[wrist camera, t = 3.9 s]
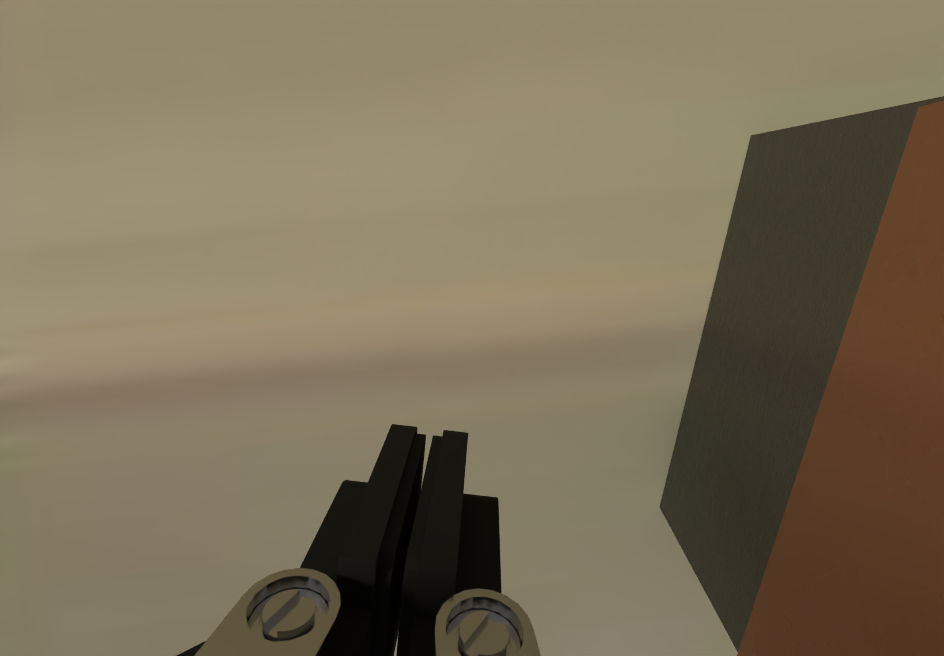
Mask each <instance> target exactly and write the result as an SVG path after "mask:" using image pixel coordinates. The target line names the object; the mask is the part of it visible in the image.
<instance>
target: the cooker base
mask: <svg viewBox="0 0 944 656" xmlns="http://www.w3.org/2000/svg"><path fill="white" fill-rule="evenodd" d="M943 100H944V96H943V97H938V98H933V99H928V100H924V101H919V102H914V103H909V104H904V105H899V106H894V107H889V108H884V109H879V110H874V111H869V112H864V113H860V114H855V115H850V116H845V117H840V118H835V119H830V120H825V121H820V122H815V123H810V124H805V125H801V126H796V127H791V128H786V129H781V130H776V131H771V132H766V133H761V134H756V135H751V138H750V142H749V146H748V150H747V154H746V158H745V162H744V166H743V171H742V175H741V179H740V183H739V187H738V191H737V195H736V199H735V203H734V207H733V211H732V215H731V219H730V223H729V227H728V232H727V236H726V240H725V244H724V248H723V252H722V256H721V260H720V264H719V268H718V272H717V276H716V280H715V284H714V288H713V292H712V297H711V301H710V305H709V309H708V313H707V317H706V321H705V325H704V329H703V333H702V337H701V341H700V345H699V349H698V353H697V358H696V362H695V366H694V370H693V374H692V378H691V382H690V386H689V390H688V394H687V398H686V402H685V406H684V410H683V414H682V419H681V423H680V427H679V431H678V435H677V439H676V443H675V447H674V451H673V455H672V459H671V463H670V467H669V471H668V475H667V479H666V484H665V488H664V492H663V496H662V500H661V504H660V509H661V511H662V513H663V514H664V516H665V518H666V520H667V522H668V524H669V526H670V527H671V529H672V531H673V533H674V535H675V537H676V539H677V540H678V542H679V544H680V546H681V548H682V550H683V552H684V553H685V555H686V557H687V559H688V561H689V563H690V564H691V566H692V568H693V570H694V572H695V574H696V576H697V577H698V579H699V581H700V583H701V585H702V587H703V589H704V590H705V592H706V594H707V596H708V598H709V600H710V602H711V603H712V605H713V607H714V609H715V611H716V613H717V615H718V616H719V618H720V620H721V622H722V624H723V626H724V628H725V629H726V631H727V633H728V635H729V637H730V639H731V640H732V642H733V644H734V646H735V648H736V650H737V652H738V651H739V648H740V645H741V642H742V639H743V636H744V633H745V630H746V627H747V624H748V621H749V618H750V615H751V612H752V609H753V606H754V603H755V600H756V597H757V594H758V591H759V588H760V585H761V582H762V579H763V576H764V573H765V570H766V567H767V564H768V561H769V558H770V555H771V551H772V548H773V545H774V542H775V539H776V536H777V533H778V530H779V527H780V524H781V521H782V518H783V515H784V512H785V509H786V506H787V503H788V500H789V497H790V494H791V491H792V488H793V485H794V482H795V479H796V476H797V473H798V470H799V467H800V464H801V461H802V458H803V455H804V452H805V449H806V446H807V443H808V440H809V437H810V434H811V431H812V428H813V425H814V421H815V418H816V415H817V412H818V409H819V406H820V403H821V400H822V397H823V394H824V391H825V388H826V385H827V382H828V379H829V376H830V373H831V370H832V367H833V364H834V361H835V358H836V355H837V352H838V349H839V346H840V343H841V340H842V337H843V334H844V331H845V328H846V325H847V322H848V319H849V316H850V313H851V310H852V307H853V304H854V301H855V298H856V295H857V291H858V288H859V285H860V282H861V279H862V276H863V273H864V270H865V267H866V264H867V261H868V258H869V255H870V252H871V249H872V246H873V243H874V240H875V237H876V234H877V231H878V228H879V225H880V222H881V219H882V216H883V213H884V210H885V207H886V204H887V201H888V198H889V195H890V192H891V189H892V186H893V183H894V180H895V177H896V174H897V171H898V168H899V164H900V161H901V158H902V155H903V152H904V149H905V146H906V143H907V140H908V137H909V134H910V131H911V128H912V125H913V122H914V119H915V116H916V113H917V110H918V107H921V106H925V105H928V104H932V103H936V102H940V101H943Z"/></svg>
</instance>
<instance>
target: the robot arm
mask: <svg viewBox="0 0 944 656" xmlns="http://www.w3.org/2000/svg"><path fill="white" fill-rule="evenodd" d="M425 441H426V435H424V434H417V427H413V426H404V425H395V424H392V425H391V427H390V430H389V432H388V435H387V437H386V440H385V442H384V445H383V447H382V450H381V452H380V454H379V457H378V459H377V462H376V464H375V467H374V469H373V472H372V474H371V476H370V479H369V481H368V483H367V482H358V481H349V480H345V481H343V483H342V484H341V486H340V488H339V490H338V492H337V494H336V496H335V498H334V500H333V502H332V504H331V506H330V508H329V510H328V512H327V514H326V516H325V518H324V520H323V522H322V524H321V526H320V528H319V530H318V532H317V535H316V537H315V539H314V541H313V543H312V545H311V547H310V549H309V551H308V553H307V555H306V557H305V559H304V561H303V563H302V565H301V567H300V568H295V569H287V570H282V571H279V572H277V573H274V574H271V575H268V576H267V577H265V578H263V579H262V580H260V581H258V582H257V583H255V584H254V585H253V586H252V587H251V588H250V589H249V590H248V591H247V592H246V593H245V594H244V595H243V596H242V597H241V598H240V600H239V601H238V602H237V603H236V605H235V606H234V607H233V608H232V610H231V611H230V612H229V613H228V615H227V616H226V617H225V618H224V619H223V621H222V622H221V623H220V624H219V626H218V627H217V628H216V629H215V631H214V632H213V633H212V634H211V636H210V637H209V638H208V639H207V641H205V642H203V643H201V644H199V645H197V646H195V647H193V648H191V649H189V650H187V651H185V652H183V653H181V654H179V655H177V656H394V651H395V646H396V641H397V636H398V645H397V656H541V655H540V651H539V648H538V644H537V640H536V636H535V633H534V629H533V626H532V624H531V622H530V620H529V617H528V615H527V614H526V613H525V611H524V610H523V609H522V608H521V607H520V606H519V604H518V603H516V602H515V601H513V600H512V599H510V598H509V597H508V596H506V595H504V594H501V568H500V537H499V506H498V498H497V497H488V496H479V495H471V494H463V489H464V477H465V465H466V453H467V441H468V433H465V432H456V431H447V430H444V432H443V437H442V436H433V439H432V443H431V448H430V452H429V457H428V461H427V466H426V470H425V475H424V479H423V484H422V473H423V462H424V452H425ZM421 484H422V488H421ZM398 631H399V634H398Z"/></svg>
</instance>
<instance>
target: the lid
mask: <svg viewBox="0 0 944 656" xmlns="http://www.w3.org/2000/svg"><path fill="white" fill-rule="evenodd" d="M737 656H944V100H943V101H940V102H936V103H932V104H928V105H925V106H921V107H918V110H917V113H916V116H915V119H914V122H913V125H912V128H911V131H910V134H909V137H908V140H907V143H906V146H905V149H904V152H903V155H902V158H901V161H900V164H899V168H898V171H897V174H896V177H895V180H894V183H893V186H892V189H891V192H890V195H889V198H888V201H887V204H886V207H885V210H884V213H883V216H882V219H881V222H880V225H879V228H878V231H877V234H876V237H875V240H874V243H873V246H872V249H871V252H870V255H869V258H868V261H867V264H866V267H865V270H864V273H863V276H862V279H861V282H860V285H859V288H858V291H857V295H856V298H855V301H854V304H853V307H852V310H851V313H850V316H849V319H848V322H847V325H846V328H845V331H844V334H843V337H842V340H841V343H840V346H839V349H838V352H837V355H836V358H835V361H834V364H833V367H832V370H831V373H830V376H829V379H828V382H827V385H826V388H825V391H824V394H823V397H822V400H821V403H820V406H819V409H818V412H817V415H816V418H815V421H814V425H813V428H812V431H811V434H810V437H809V440H808V443H807V446H806V449H805V452H804V455H803V458H802V461H801V464H800V467H799V470H798V473H797V476H796V479H795V482H794V485H793V488H792V491H791V494H790V497H789V500H788V503H787V506H786V509H785V512H784V515H783V518H782V521H781V524H780V527H779V530H778V533H777V536H776V539H775V542H774V545H773V548H772V551H771V555H770V558H769V561H768V564H767V567H766V570H765V573H764V576H763V579H762V582H761V585H760V588H759V591H758V594H757V597H756V600H755V603H754V606H753V609H752V612H751V615H750V618H749V621H748V624H747V627H746V630H745V633H744V636H743V639H742V642H741V645H740V648H739V651H738V654H737Z"/></svg>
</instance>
